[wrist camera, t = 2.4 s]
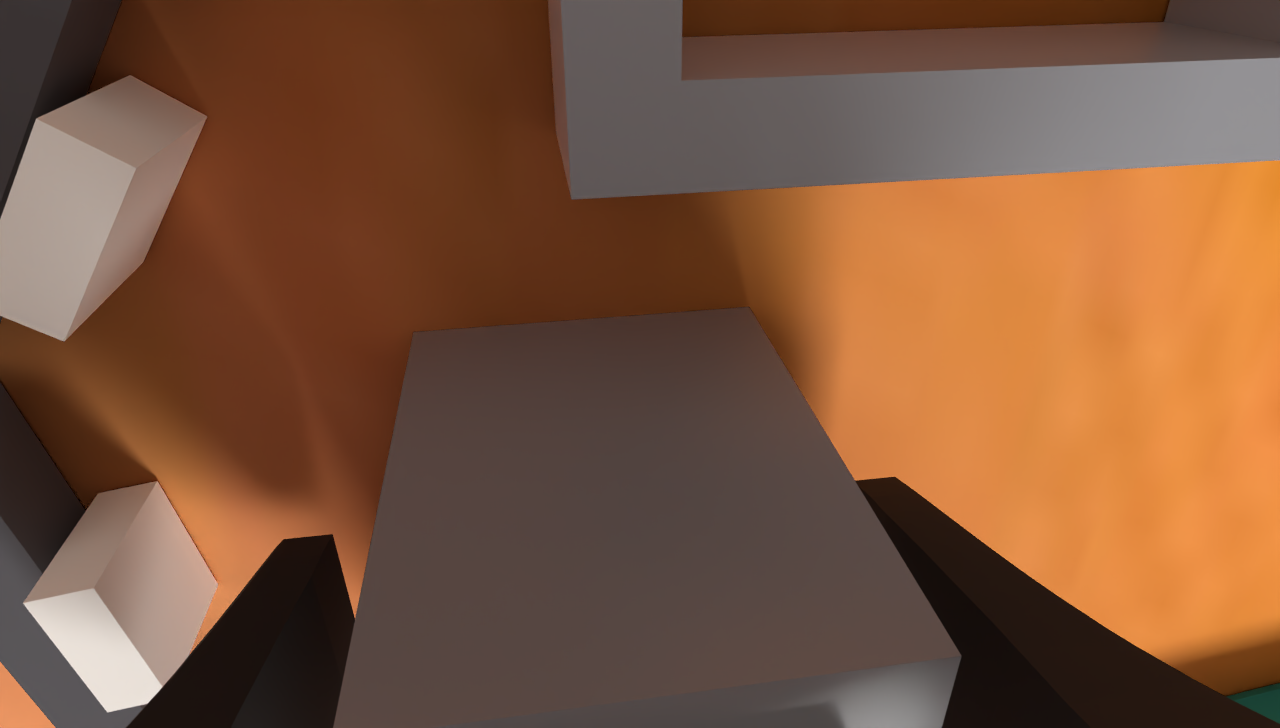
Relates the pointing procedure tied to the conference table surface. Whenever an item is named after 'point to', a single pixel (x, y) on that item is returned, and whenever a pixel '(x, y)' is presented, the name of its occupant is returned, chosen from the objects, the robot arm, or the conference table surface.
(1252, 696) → the digital multimeter
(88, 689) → the routed cable
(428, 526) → the connector block
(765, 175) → the frame
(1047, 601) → the robot arm
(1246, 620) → the conference table surface
